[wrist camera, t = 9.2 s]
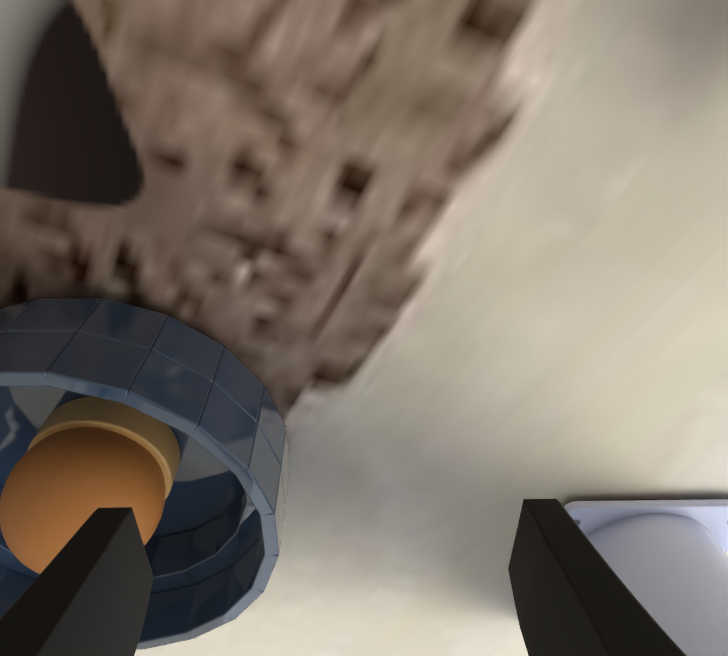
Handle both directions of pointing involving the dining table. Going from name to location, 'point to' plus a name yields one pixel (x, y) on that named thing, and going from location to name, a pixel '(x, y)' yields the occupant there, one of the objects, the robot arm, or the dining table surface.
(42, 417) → the bowl
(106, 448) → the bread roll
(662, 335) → the dining table surface
